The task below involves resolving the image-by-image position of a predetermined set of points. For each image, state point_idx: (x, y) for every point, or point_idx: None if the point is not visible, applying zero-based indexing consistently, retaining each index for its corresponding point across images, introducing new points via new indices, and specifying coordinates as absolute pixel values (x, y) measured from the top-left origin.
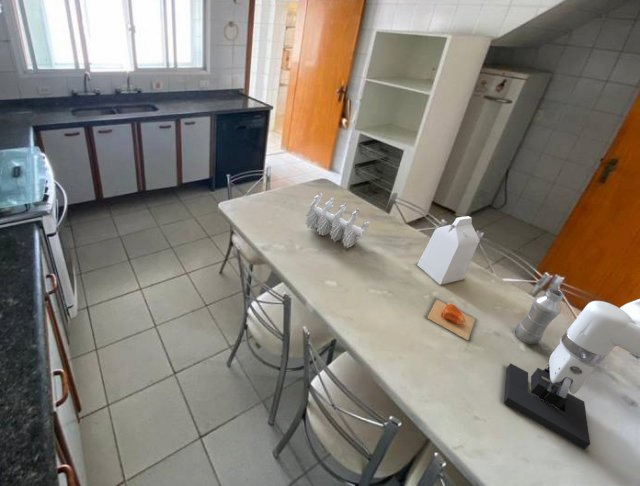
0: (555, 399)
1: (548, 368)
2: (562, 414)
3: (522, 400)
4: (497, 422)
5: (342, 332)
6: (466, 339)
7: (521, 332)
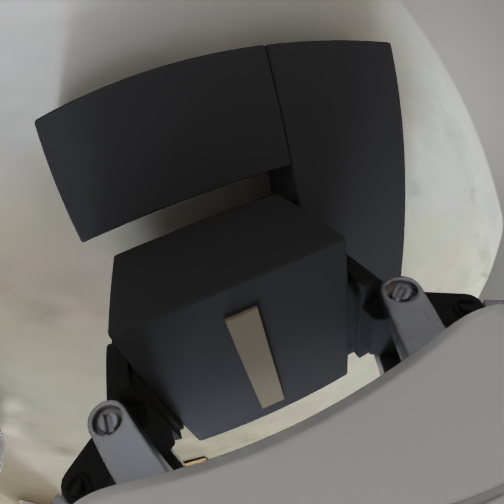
0: (367, 270)
1: (172, 450)
2: (325, 172)
3: None
4: (431, 274)
5: None
6: (205, 459)
7: (2, 458)
